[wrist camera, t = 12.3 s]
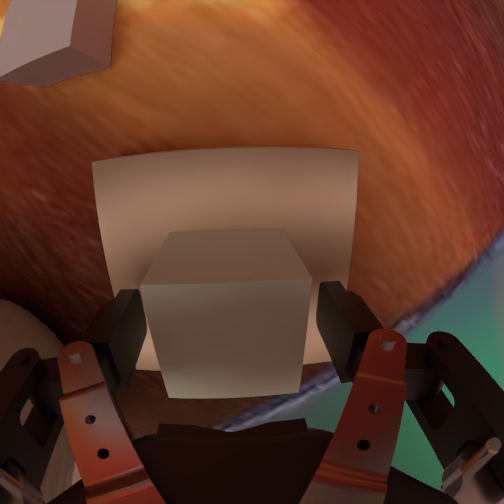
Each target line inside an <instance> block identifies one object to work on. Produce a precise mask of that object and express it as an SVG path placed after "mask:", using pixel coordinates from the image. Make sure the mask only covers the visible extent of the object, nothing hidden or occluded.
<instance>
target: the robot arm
mask: <svg viewBox="0 0 504 504" xmlns="http://www.w3.org/2000/svg"><path fill="white" fill-rule="evenodd" d="M316 323H317V328H318V330H319V332H320V335H321V337H322V339H323V342H324V344H325V346H326V348H327V351H328V353H329V355H330V357H331V360H332V362H333V364H334V367H335V369H336V371H337V374H338V376H339V378H340V381H341V383H347V382H353V386H352V388H351V391H350V394H349V397H348V399H347V402H346V405H345V408H344V410H343V413H342V415H341V418H340V420H339V423H338V425H337V427H336V430H335V432H334V433H332V432H329V431H325V430H321V429H315V428H307V425H306V421H305V418H302V419H296V420H286V421H277V422H268V423H265V424H262V425H258V426H255V427H251V428H247V429H244V430H240V431H236V432H226V431H220V430H215V429H210V428H205V427H200V426H196V425H177V424H159V426H158V432H157V433H156V434H151V435H147V436H143V437H141V438H138V439H135V437H134V436H133V434H132V432H131V430H130V428H129V426H128V424H127V422H126V420H125V417H124V415H123V413H122V411H121V409H120V407H119V405H118V402H117V400H116V398H115V395H116V392H117V391H124V392H128V389H129V386H130V382H131V379H132V376H133V373H134V370H135V367H136V364H137V361H138V358H139V355H140V352H141V349H142V346H143V343H144V340H145V337H146V334H147V321H146V317H145V313H144V308H143V304H142V299H141V295H140V292H139V290H138V289H120V290H119V292H118V293H117V295H116V297H115V298H114V300H113V301H109V302H107V303H106V304H105V305H103V306H102V307H101V308H100V310H99V311H98V313H97V314H96V316H95V318H94V319H93V322H91V324H90V326H89V327H88V329H87V330H86V332H85V334H84V335H83V337H82V339H81V340H80V341H76V342H72V343H69V344H67V345H66V346H64V347H63V348H62V349H61V350H60V351H59V353H58V356H57V357H55V358H48V359H41V357H40V355H39V353H38V351H37V350H36V349H34V348H24V349H21V350H19V351H17V352H16V353H14V354H13V355H12V356H11V358H10V359H9V360H8V362H7V363H6V365H5V366H4V367H3V369H2V370H1V372H0V504H500V503H502V502H503V501H504V391H503V390H502V389H501V388H500V387H499V385H498V384H497V383H496V381H495V380H494V379H493V378H492V377H491V376H490V374H489V373H488V372H487V371H486V370H485V369H484V367H483V366H482V365H481V364H480V363H479V362H478V361H477V360H476V359H475V357H474V356H473V355H472V354H471V353H470V352H469V351H468V350H467V348H466V347H465V346H464V345H463V344H462V343H461V342H460V341H459V340H458V339H457V338H456V337H455V336H453V335H452V334H449V333H447V332H441V331H437V332H433V333H431V334H430V335H429V336H428V338H427V341H426V344H421V343H420V344H419V343H407V341H406V339H405V338H404V336H403V335H401V334H400V333H398V332H396V331H394V330H390V329H384V328H383V326H382V325H381V323H380V322H379V321H378V319H377V318H376V317H375V315H374V314H373V313H372V311H370V309H369V307H368V306H367V305H366V303H365V302H364V301H363V300H362V298H361V297H360V296H358V295H357V294H355V293H353V292H352V291H346V289H345V288H344V287H343V285H342V284H341V282H340V281H324V282H321V283H320V285H319V293H318V302H317V310H316ZM444 384H445V385H446V386H447V388H448V389H449V391H450V392H451V394H452V395H453V397H454V401H455V405H454V407H453V406H452V404H451V403H450V401H449V400H448V398H447V397H446V395H445V394H444V393H443V391H442V390H441V388H442V386H443V385H444ZM28 398H29V400H30V401H31V403H32V404H33V407H32V409H31V411H30V413H29V415H28V417H27V419H26V421H25V423H24V425H23V426H22V424H21V421H20V414H21V411H22V409H23V407H24V406H25V404H26V402H27V400H28ZM405 400H406V402H407V404H408V406H409V407H410V409H411V411H412V413H413V414H414V416H415V418H416V419H417V421H418V423H419V425H420V426H421V428H422V430H423V432H424V434H425V435H426V437H427V439H428V440H429V443H430V444H431V446H432V448H433V450H434V452H435V453H436V455H437V457H438V459H439V461H440V463H441V465H442V466H443V468H444V472H443V475H442V485H441V491H440V490H437V489H435V488H433V487H431V486H429V485H427V484H425V483H423V482H420V481H419V480H417V479H415V478H413V477H411V476H409V475H407V474H405V473H403V472H401V471H400V470H397V469H396V468H394V467H392V466H391V463H392V459H393V455H394V451H395V447H396V443H397V438H398V433H399V429H400V424H401V419H402V413H403V407H404V401H405ZM64 423H65V427H66V431H67V435H68V438H69V442H70V445H71V449H72V452H73V455H74V458H75V461H76V464H77V467H78V470H79V473H80V476H81V478H82V479H81V480H79V481H78V482H76V483H75V484H74V485H73V486H71V487H70V488H68V489H67V490H65V491H64V492H62V493H61V494H60V495H58V496H57V497H55V498H54V499H52V500H51V501H49V502H48V503H45V502H44V501H43V495H42V492H41V489H40V487H41V484H42V481H43V478H44V475H45V472H46V469H47V466H48V463H49V461H50V458H51V455H52V452H53V450H54V447H55V445H56V442H57V439H58V437H59V434H60V432H61V430H62V427H63V425H64Z"/></svg>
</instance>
